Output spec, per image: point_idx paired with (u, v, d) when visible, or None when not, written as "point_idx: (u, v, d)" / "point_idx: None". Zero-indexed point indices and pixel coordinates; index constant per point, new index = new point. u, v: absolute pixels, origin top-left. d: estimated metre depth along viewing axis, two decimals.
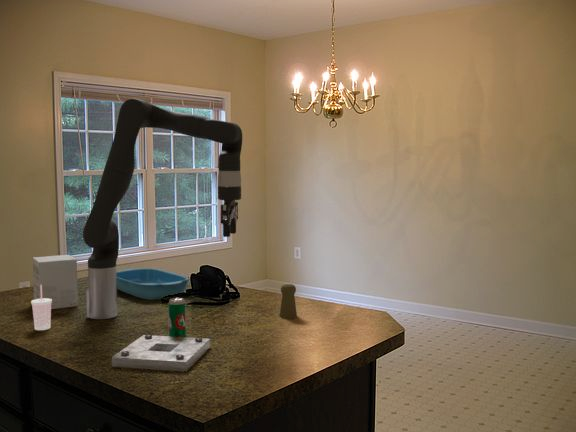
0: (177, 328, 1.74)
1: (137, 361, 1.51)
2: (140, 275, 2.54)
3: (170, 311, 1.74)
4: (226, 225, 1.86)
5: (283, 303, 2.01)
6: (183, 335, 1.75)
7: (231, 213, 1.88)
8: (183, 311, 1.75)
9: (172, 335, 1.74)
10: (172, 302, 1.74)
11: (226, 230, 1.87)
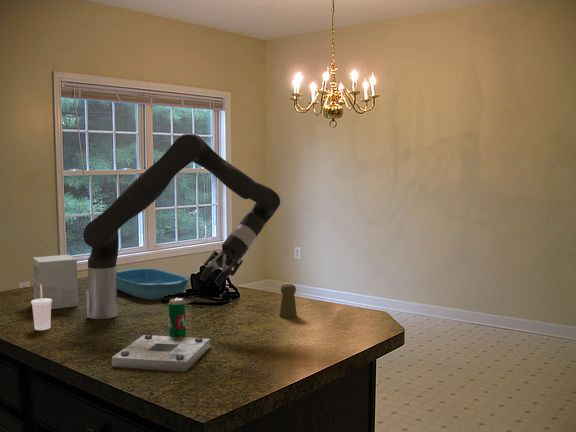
0: (177, 328, 1.74)
1: (137, 361, 1.51)
2: (140, 275, 2.54)
3: (170, 311, 1.74)
4: (226, 275, 1.80)
5: (283, 303, 2.01)
6: (183, 335, 1.75)
7: None
8: (183, 311, 1.75)
9: (172, 335, 1.74)
10: (172, 302, 1.74)
11: (223, 279, 1.80)
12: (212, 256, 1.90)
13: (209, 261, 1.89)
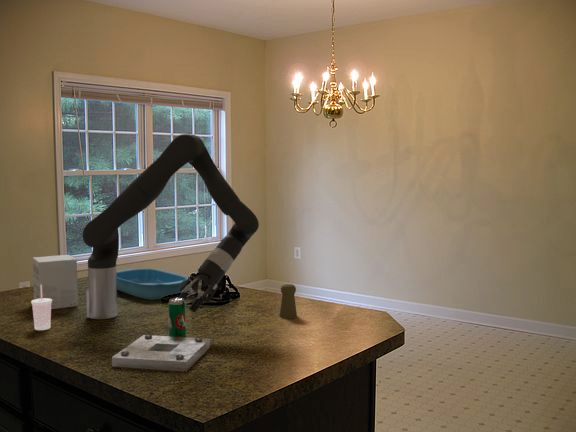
0: (177, 328, 1.74)
1: (137, 361, 1.51)
2: (139, 275, 2.54)
3: (170, 311, 1.74)
4: (201, 301, 1.75)
5: (283, 303, 2.01)
6: (183, 335, 1.75)
7: None
8: (183, 311, 1.75)
9: (172, 335, 1.74)
10: (172, 302, 1.74)
11: (198, 305, 1.75)
12: (188, 281, 1.85)
13: (185, 286, 1.84)
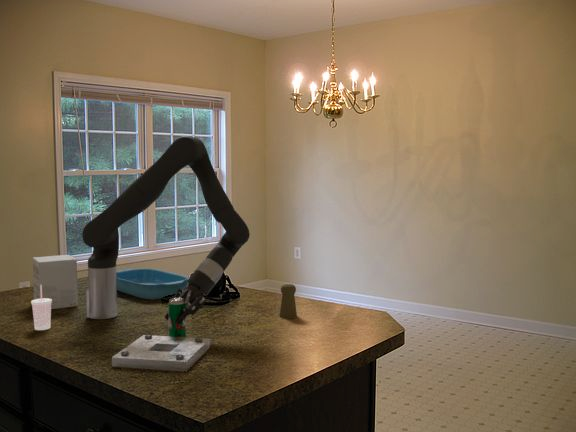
0: (177, 328, 1.74)
1: (137, 361, 1.51)
2: (137, 275, 2.54)
3: (170, 311, 1.74)
4: (186, 314, 1.74)
5: (283, 303, 2.01)
6: (183, 335, 1.75)
7: None
8: None
9: (172, 335, 1.74)
10: (172, 302, 1.74)
11: (183, 318, 1.73)
12: (177, 293, 1.82)
13: None
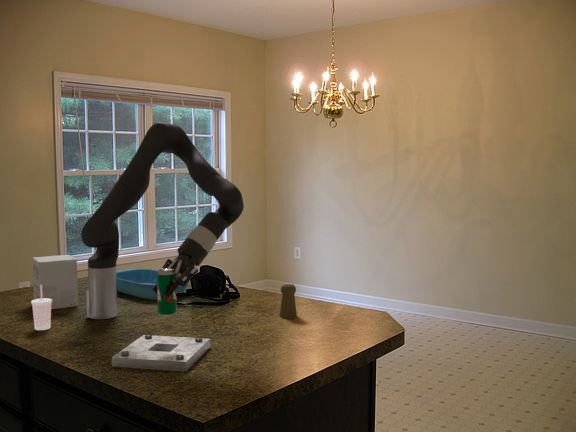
0: (167, 301, 1.59)
1: (137, 361, 1.51)
2: (136, 275, 2.53)
3: (159, 282, 1.59)
4: (176, 285, 1.58)
5: (283, 303, 2.01)
6: (173, 309, 1.60)
7: (185, 276, 1.61)
8: None
9: (161, 309, 1.59)
10: (161, 272, 1.58)
11: (172, 290, 1.58)
12: (166, 264, 1.66)
13: None
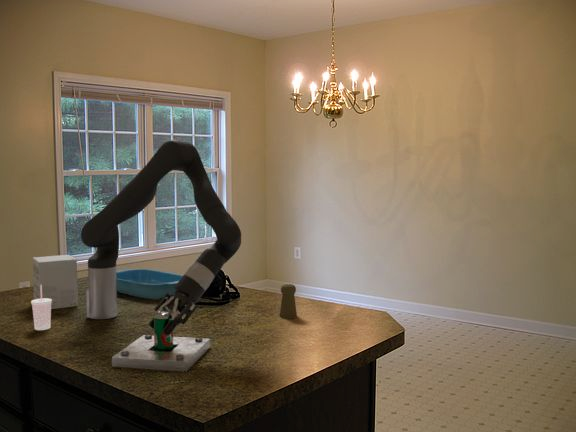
0: (164, 345, 1.58)
1: (137, 361, 1.51)
2: (133, 276, 2.52)
3: (156, 326, 1.58)
4: (176, 323, 1.57)
5: (283, 303, 2.01)
6: None
7: (184, 313, 1.60)
8: None
9: None
10: (158, 316, 1.58)
11: (172, 328, 1.56)
12: (164, 299, 1.66)
13: (160, 305, 1.65)
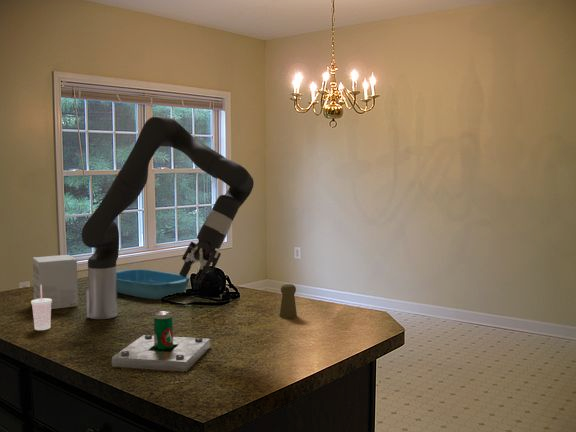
0: (164, 345, 1.58)
1: (137, 361, 1.51)
2: (130, 276, 2.52)
3: (156, 326, 1.58)
4: (205, 272, 1.67)
5: (283, 303, 2.01)
6: None
7: None
8: (170, 326, 1.59)
9: None
10: (158, 316, 1.58)
11: (202, 277, 1.67)
12: (189, 248, 1.76)
13: (187, 254, 1.76)
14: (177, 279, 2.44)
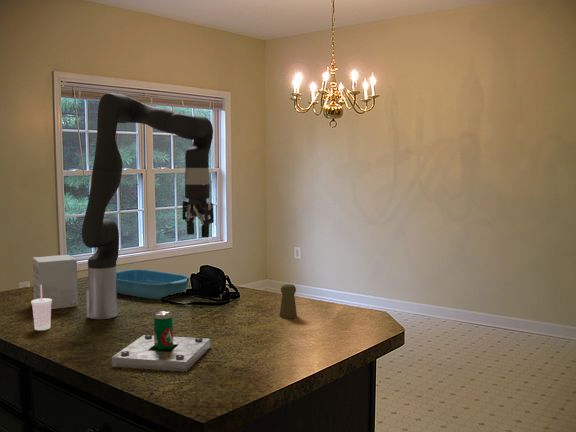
0: (164, 345, 1.58)
1: (137, 361, 1.51)
2: (128, 276, 2.51)
3: (156, 326, 1.58)
4: (207, 225, 1.77)
5: (283, 303, 2.01)
6: None
7: None
8: (170, 326, 1.59)
9: None
10: (158, 316, 1.58)
11: (207, 230, 1.77)
12: (184, 208, 1.84)
13: (185, 214, 1.85)
14: (176, 279, 2.45)
